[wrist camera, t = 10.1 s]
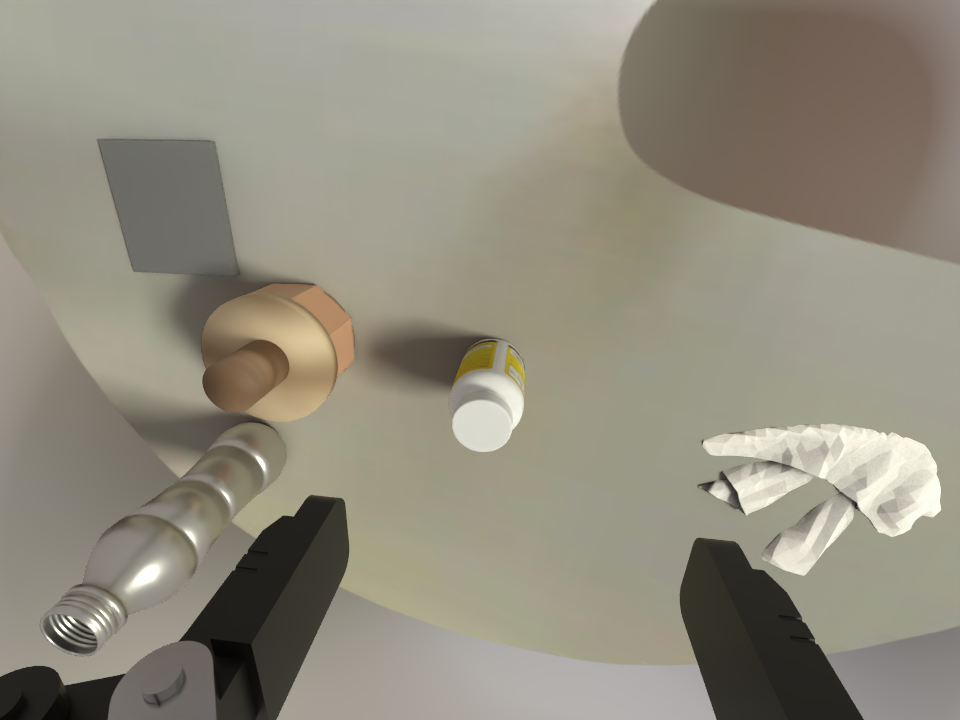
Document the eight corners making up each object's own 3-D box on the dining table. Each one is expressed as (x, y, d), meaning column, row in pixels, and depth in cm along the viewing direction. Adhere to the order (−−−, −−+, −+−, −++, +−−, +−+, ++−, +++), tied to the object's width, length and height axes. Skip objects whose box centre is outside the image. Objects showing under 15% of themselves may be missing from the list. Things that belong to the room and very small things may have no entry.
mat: (104, 140, 35) (97, 139, 34) (214, 141, 34) (209, 141, 33) (139, 270, 38) (133, 271, 38) (239, 274, 38) (234, 276, 37)
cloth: (974, 503, 39) (1001, 523, 37) (745, 612, 46) (755, 634, 44) (849, 338, 35) (871, 349, 33) (619, 486, 42) (624, 503, 40)
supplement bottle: (453, 381, 39) (429, 443, 30) (475, 327, 37) (456, 375, 28) (510, 404, 40) (503, 472, 31) (535, 351, 37) (536, 407, 28)
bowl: (245, 280, 38) (206, 295, 33) (349, 285, 37) (323, 301, 32) (263, 378, 41) (229, 403, 37) (358, 384, 40) (336, 411, 36)
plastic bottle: (219, 443, 45) (-1, 631, 26) (252, 400, 42) (36, 573, 24) (273, 482, 46) (98, 689, 27) (308, 442, 43) (142, 639, 25)
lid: (199, 289, 33) (137, 310, 28) (330, 295, 32) (291, 318, 27) (225, 409, 37) (175, 448, 32) (343, 418, 36) (312, 458, 31)
